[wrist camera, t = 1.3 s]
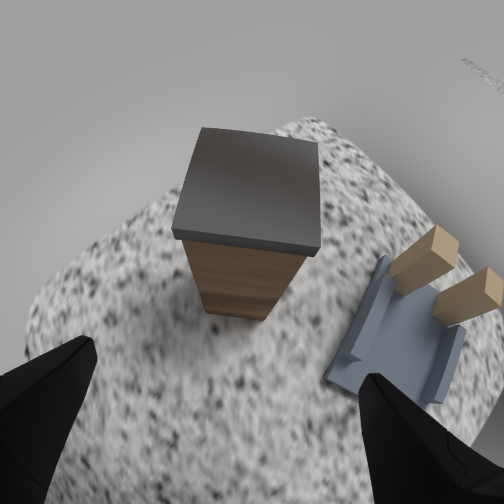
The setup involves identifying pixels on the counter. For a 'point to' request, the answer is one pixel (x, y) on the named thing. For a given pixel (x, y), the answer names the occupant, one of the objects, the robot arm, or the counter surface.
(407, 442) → the robot arm
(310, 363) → the counter surface
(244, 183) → the rail end
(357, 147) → the counter surface
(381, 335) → the base with wooden posts
